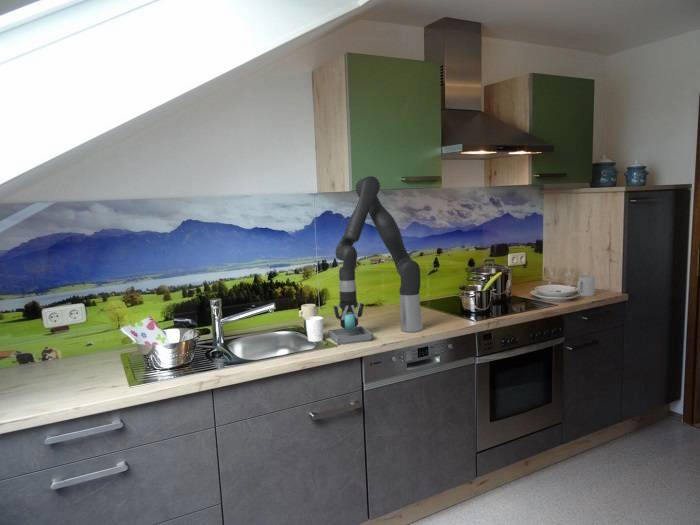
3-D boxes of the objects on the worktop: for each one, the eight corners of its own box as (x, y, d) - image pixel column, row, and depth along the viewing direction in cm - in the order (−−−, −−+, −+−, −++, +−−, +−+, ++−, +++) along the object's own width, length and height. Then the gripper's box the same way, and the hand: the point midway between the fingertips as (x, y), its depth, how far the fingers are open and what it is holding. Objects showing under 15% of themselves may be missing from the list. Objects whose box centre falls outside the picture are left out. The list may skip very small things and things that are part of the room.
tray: (361, 332, 238) (361, 326, 238) (373, 340, 223) (372, 333, 222) (328, 336, 233) (328, 330, 233) (338, 345, 218) (337, 338, 218)
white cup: (326, 337, 231) (325, 316, 230) (321, 342, 224) (319, 320, 223) (310, 337, 233) (309, 316, 232) (304, 342, 226) (302, 320, 225)
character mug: (315, 328, 250) (314, 302, 249) (323, 330, 245) (322, 304, 243) (296, 332, 244) (294, 306, 242) (304, 335, 238) (302, 308, 237)
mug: (584, 293, 303) (584, 275, 302) (597, 294, 296) (597, 276, 295) (571, 295, 297) (571, 277, 296) (584, 297, 290) (584, 278, 289)
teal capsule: (353, 327, 231) (352, 312, 230) (356, 329, 226) (356, 314, 225) (342, 328, 230) (341, 313, 229) (345, 330, 225) (344, 315, 224)
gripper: (360, 287, 231) (362, 323, 233) (330, 290, 227) (331, 327, 229) (365, 289, 224) (367, 327, 226) (334, 292, 220) (336, 330, 222)
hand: (349, 326), depth 228 cm, fingers closed on teal capsule, 5 cm apart
